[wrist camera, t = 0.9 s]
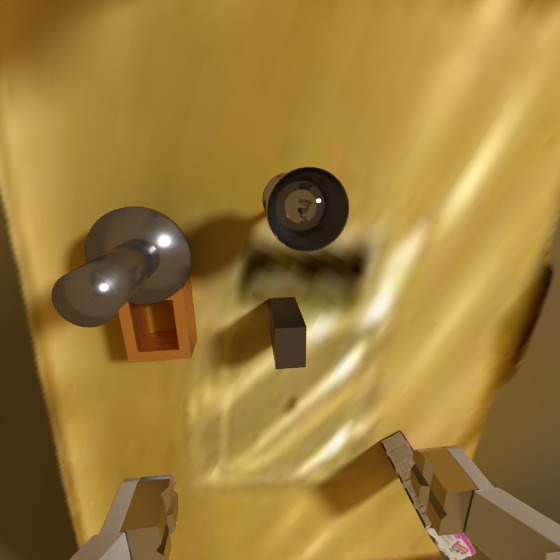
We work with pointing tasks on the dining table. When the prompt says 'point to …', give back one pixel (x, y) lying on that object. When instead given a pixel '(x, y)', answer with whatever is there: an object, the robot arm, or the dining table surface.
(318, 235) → the wine glass
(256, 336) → the dining table surface
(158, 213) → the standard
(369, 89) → the dining table surface
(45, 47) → the dining table surface
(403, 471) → the candy bar box
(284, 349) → the dark brown upright block
